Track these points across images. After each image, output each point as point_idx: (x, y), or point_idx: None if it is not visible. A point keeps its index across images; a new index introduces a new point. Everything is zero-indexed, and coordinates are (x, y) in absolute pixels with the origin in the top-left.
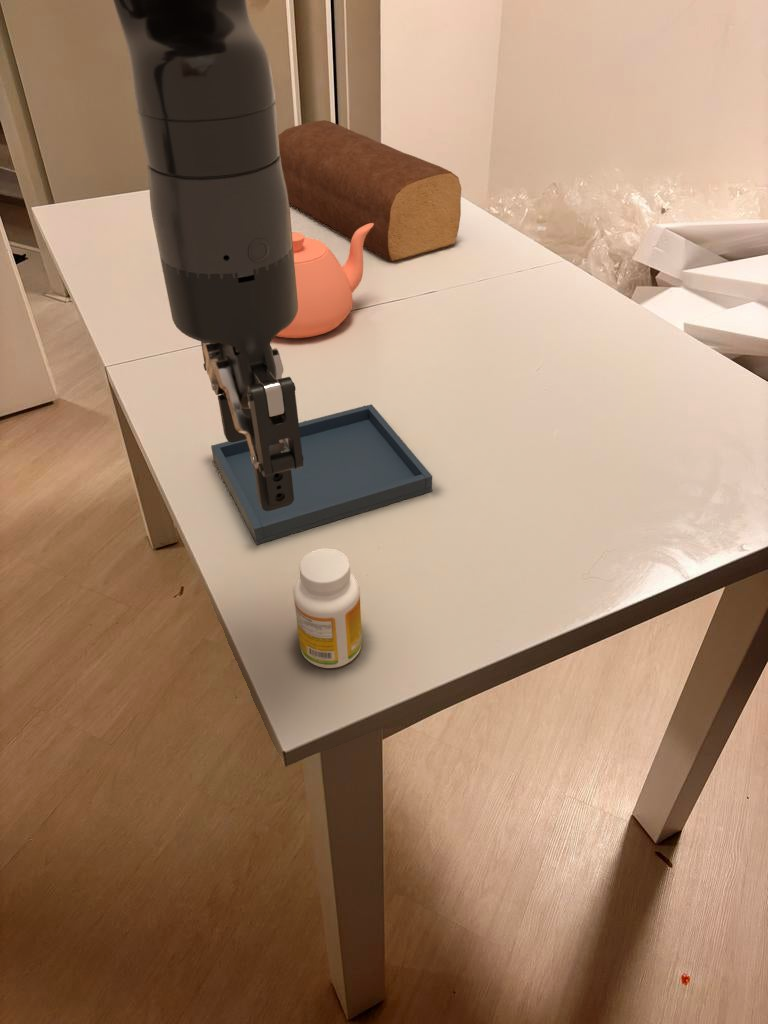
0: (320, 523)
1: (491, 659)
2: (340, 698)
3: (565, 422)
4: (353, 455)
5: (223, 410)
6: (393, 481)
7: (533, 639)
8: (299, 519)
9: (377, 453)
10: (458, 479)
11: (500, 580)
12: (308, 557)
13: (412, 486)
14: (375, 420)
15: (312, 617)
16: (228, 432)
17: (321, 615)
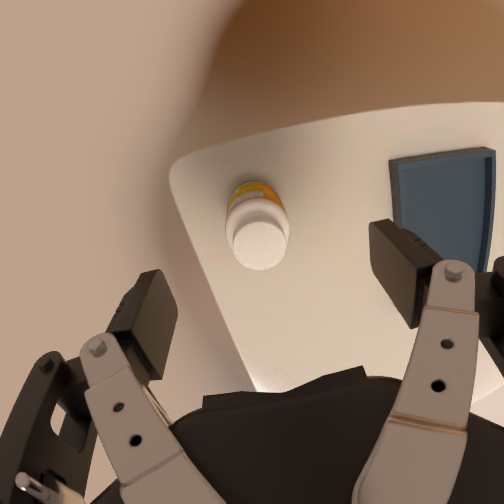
0: (394, 218)
1: (220, 309)
2: (199, 206)
3: None
4: (450, 257)
5: (403, 256)
6: None
7: (232, 334)
8: (398, 205)
9: None
10: (396, 321)
11: (290, 329)
12: (274, 232)
13: None
14: None
15: (230, 212)
16: (378, 233)
17: (226, 222)
